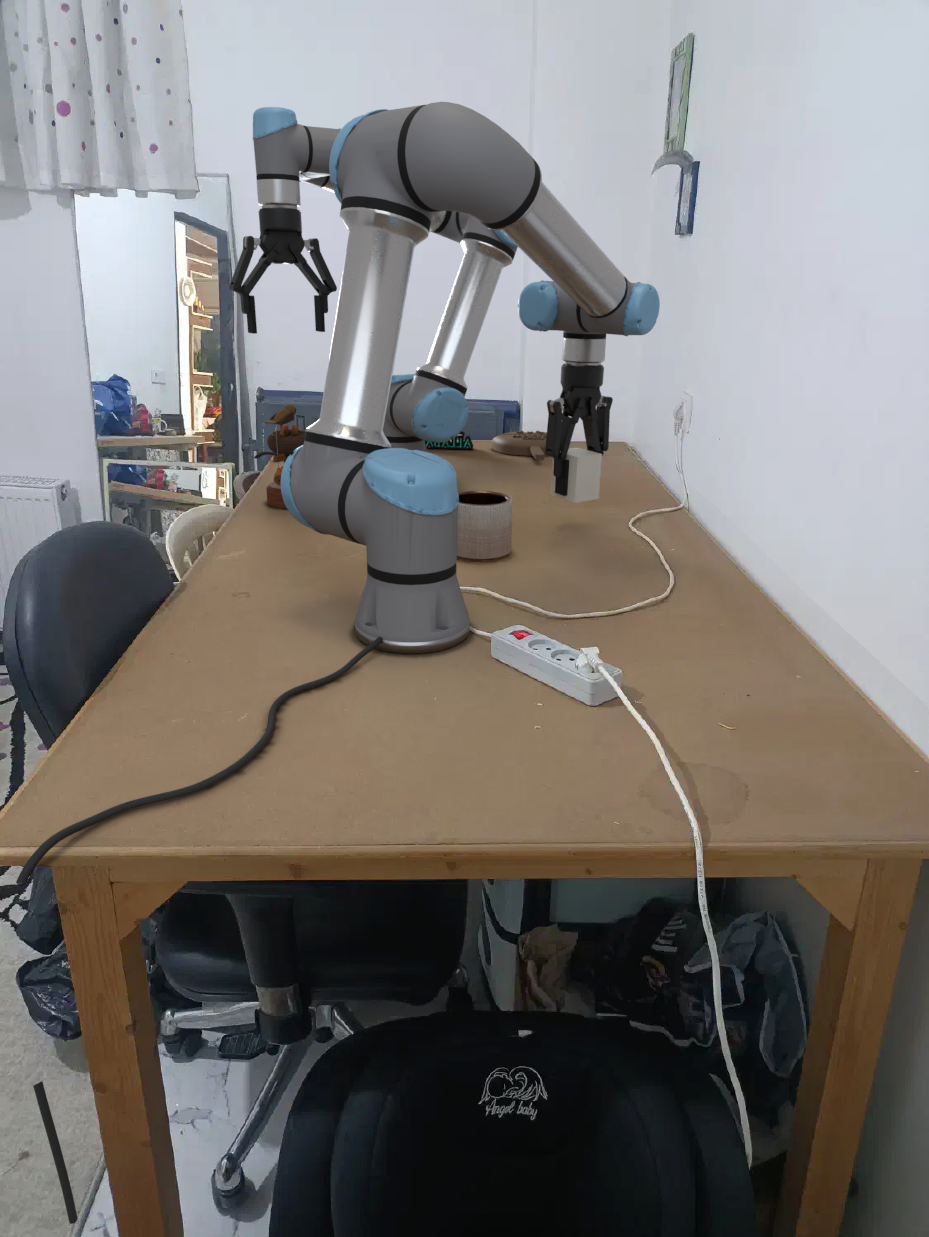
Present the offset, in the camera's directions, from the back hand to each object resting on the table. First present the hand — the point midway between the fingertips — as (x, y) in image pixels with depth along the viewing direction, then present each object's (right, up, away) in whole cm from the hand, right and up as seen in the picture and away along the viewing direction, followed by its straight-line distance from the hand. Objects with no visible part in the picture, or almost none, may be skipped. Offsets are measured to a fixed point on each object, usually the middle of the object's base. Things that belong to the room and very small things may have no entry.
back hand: (287, 332), depth 160 cm
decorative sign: (+26, -8, +70) cm, 76 cm away
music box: (-2, -30, +15) cm, 34 cm away
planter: (+36, -43, -15) cm, 58 cm away
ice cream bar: (+52, -11, +64) cm, 83 cm away
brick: (+54, -31, -2) cm, 63 cm away
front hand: (+54, -31, -2) cm, 62 cm away
